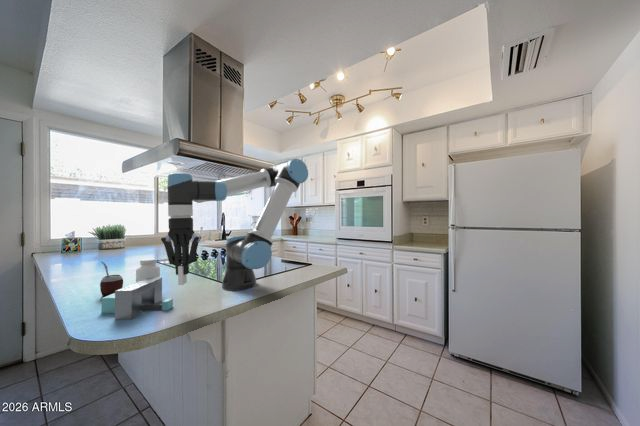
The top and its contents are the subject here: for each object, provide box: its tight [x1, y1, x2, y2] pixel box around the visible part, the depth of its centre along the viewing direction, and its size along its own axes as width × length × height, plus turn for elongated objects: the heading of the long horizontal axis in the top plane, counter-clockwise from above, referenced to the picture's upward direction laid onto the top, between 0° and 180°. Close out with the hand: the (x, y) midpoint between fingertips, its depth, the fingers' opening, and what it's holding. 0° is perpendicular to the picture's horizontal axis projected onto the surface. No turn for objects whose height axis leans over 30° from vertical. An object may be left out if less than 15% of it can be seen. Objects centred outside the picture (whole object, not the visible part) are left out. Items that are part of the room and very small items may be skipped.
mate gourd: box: [99, 261, 124, 299], centre depth 97 cm, size 8×8×15 cm
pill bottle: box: [135, 257, 161, 283], centre depth 97 cm, size 8×8×15 cm
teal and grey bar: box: [100, 293, 174, 314], centre depth 84 cm, size 21×5×5 cm, turn 94°
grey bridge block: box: [114, 277, 163, 320], centre depth 84 cm, size 5×16×9 cm, turn 3°
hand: (182, 283), depth 85 cm, fingers closed
